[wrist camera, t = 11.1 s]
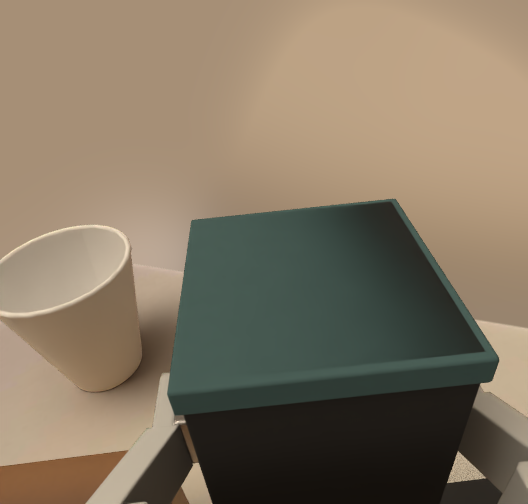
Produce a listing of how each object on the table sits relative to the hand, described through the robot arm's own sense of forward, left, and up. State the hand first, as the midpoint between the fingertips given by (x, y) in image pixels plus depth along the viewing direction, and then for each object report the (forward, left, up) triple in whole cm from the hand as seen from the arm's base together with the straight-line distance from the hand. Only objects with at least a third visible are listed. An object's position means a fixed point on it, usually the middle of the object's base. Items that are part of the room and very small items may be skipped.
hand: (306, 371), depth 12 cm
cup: (+27, -2, -22) cm, 35 cm away
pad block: (-1, +1, -6) cm, 6 cm away
